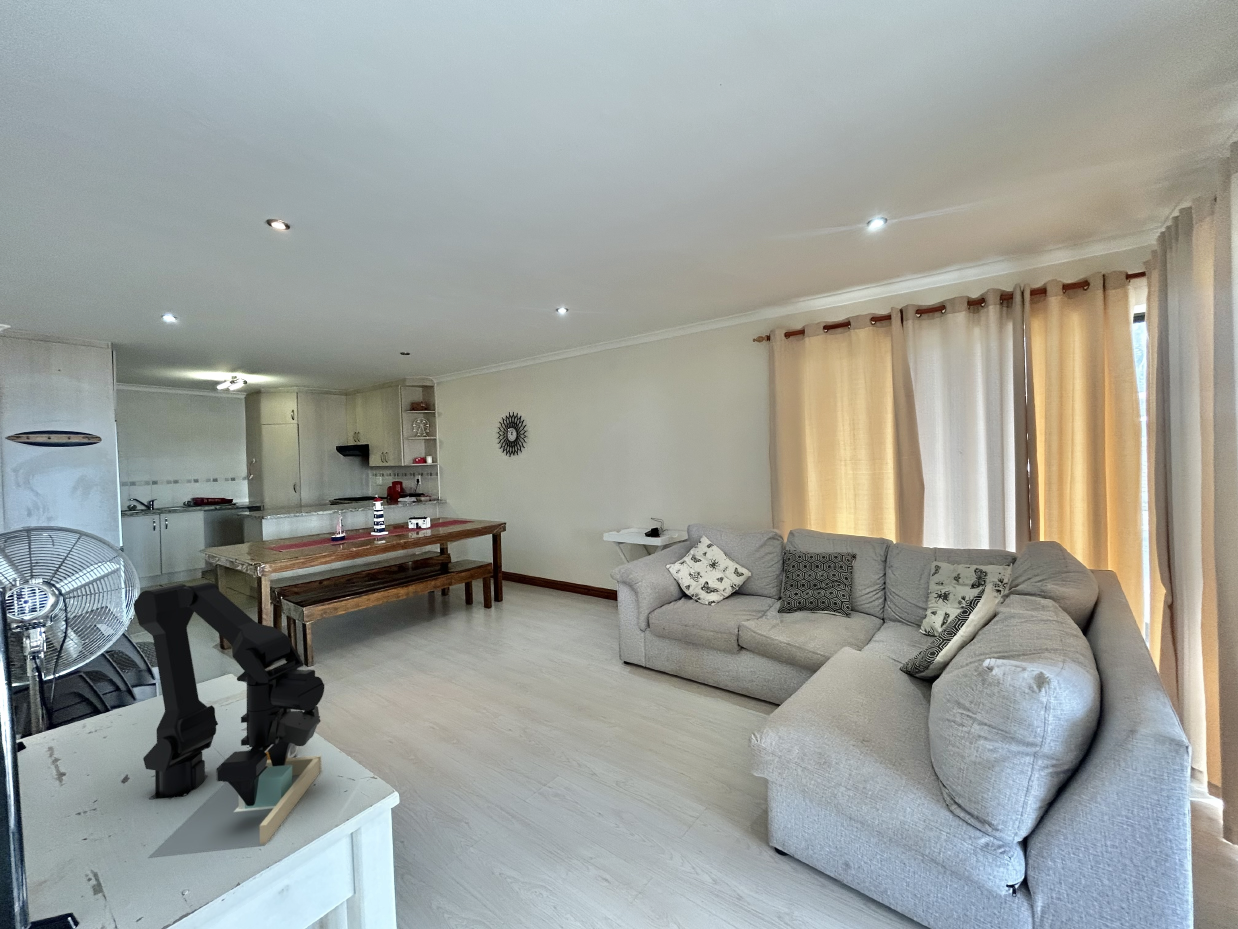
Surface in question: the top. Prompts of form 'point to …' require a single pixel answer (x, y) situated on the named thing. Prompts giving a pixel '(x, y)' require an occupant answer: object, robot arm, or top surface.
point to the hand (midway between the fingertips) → (265, 788)
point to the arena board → (238, 817)
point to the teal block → (271, 786)
